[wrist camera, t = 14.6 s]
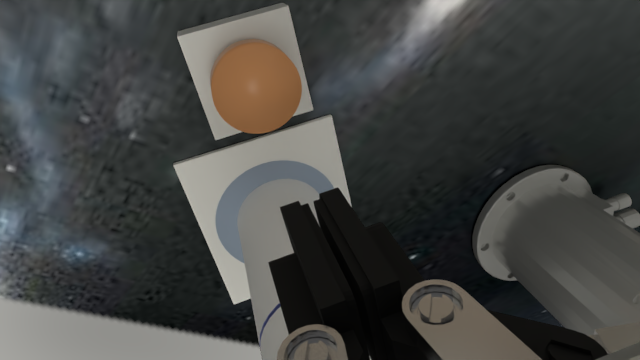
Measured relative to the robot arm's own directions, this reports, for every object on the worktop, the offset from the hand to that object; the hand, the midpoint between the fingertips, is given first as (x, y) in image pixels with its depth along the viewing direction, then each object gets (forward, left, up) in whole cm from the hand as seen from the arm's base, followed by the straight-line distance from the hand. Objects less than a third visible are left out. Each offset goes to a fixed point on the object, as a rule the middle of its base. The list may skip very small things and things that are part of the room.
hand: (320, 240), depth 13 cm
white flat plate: (+1, +12, -21) cm, 25 cm away
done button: (0, 0, -18) cm, 18 cm away
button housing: (0, 0, -21) cm, 21 cm away
